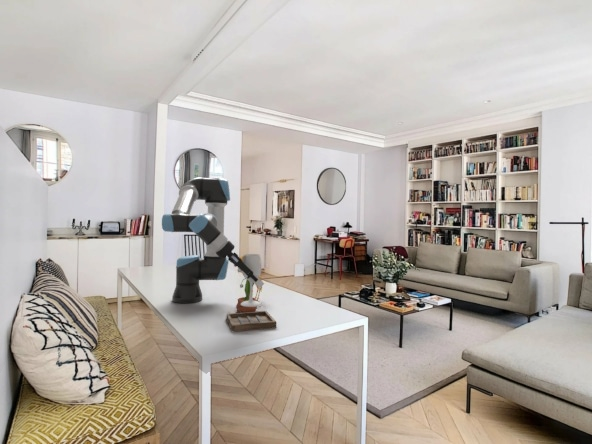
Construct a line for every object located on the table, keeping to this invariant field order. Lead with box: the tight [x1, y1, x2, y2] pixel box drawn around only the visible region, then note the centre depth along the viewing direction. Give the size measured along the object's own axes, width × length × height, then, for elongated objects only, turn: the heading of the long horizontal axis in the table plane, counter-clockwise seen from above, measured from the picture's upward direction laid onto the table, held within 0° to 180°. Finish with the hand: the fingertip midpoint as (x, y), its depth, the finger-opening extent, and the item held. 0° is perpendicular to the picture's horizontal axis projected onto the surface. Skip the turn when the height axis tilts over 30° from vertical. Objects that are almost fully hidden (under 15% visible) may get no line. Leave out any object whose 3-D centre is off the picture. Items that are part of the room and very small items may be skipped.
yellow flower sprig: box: [239, 254, 263, 302], centre depth 178 cm, size 16×4×25 cm, turn 135°
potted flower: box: [233, 261, 258, 313], centre depth 160 cm, size 12×10×25 cm
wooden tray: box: [225, 310, 277, 333], centre depth 143 cm, size 16×18×2 cm
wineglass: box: [241, 253, 262, 307], centre depth 142 cm, size 9×9×21 cm
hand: (259, 283), depth 143 cm, fingers closed on wineglass, 8 cm apart
